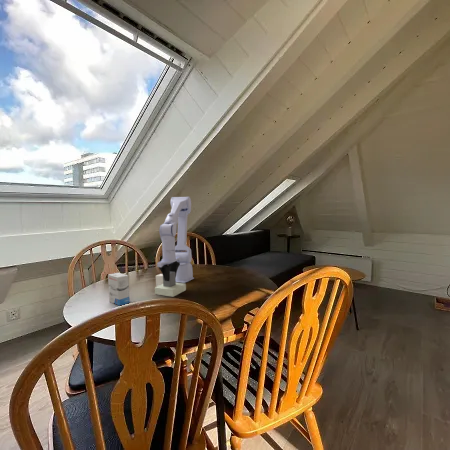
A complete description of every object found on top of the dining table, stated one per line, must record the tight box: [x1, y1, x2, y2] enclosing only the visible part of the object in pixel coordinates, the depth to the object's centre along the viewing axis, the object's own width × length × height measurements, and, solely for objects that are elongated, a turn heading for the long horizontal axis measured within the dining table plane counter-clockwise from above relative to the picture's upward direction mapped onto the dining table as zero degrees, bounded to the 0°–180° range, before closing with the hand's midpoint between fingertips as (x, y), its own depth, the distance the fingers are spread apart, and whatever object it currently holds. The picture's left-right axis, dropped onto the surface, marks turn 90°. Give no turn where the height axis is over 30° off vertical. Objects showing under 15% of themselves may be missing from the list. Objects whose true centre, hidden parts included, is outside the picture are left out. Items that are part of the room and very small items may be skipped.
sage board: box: [154, 282, 187, 297], centre depth 130 cm, size 10×10×3 cm
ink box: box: [107, 272, 131, 307], centre depth 118 cm, size 8×5×12 cm, turn 48°
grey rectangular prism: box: [163, 271, 177, 287], centre depth 130 cm, size 4×4×6 cm
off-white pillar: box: [155, 273, 163, 287], centre depth 138 cm, size 4×4×6 cm
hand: (170, 279), depth 130 cm, fingers open, 4 cm apart
